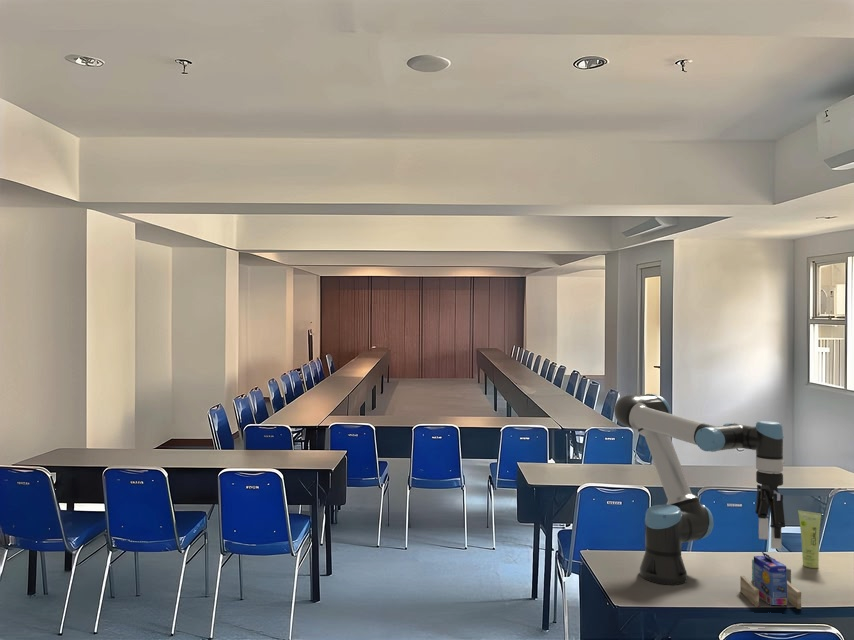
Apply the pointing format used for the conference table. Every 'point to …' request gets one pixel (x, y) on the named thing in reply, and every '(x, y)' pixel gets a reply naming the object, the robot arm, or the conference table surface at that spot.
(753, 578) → the gate
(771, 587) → the ink cartridge box
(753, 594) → the pair of wooden planks
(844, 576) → the conference table surface
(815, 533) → the tube
